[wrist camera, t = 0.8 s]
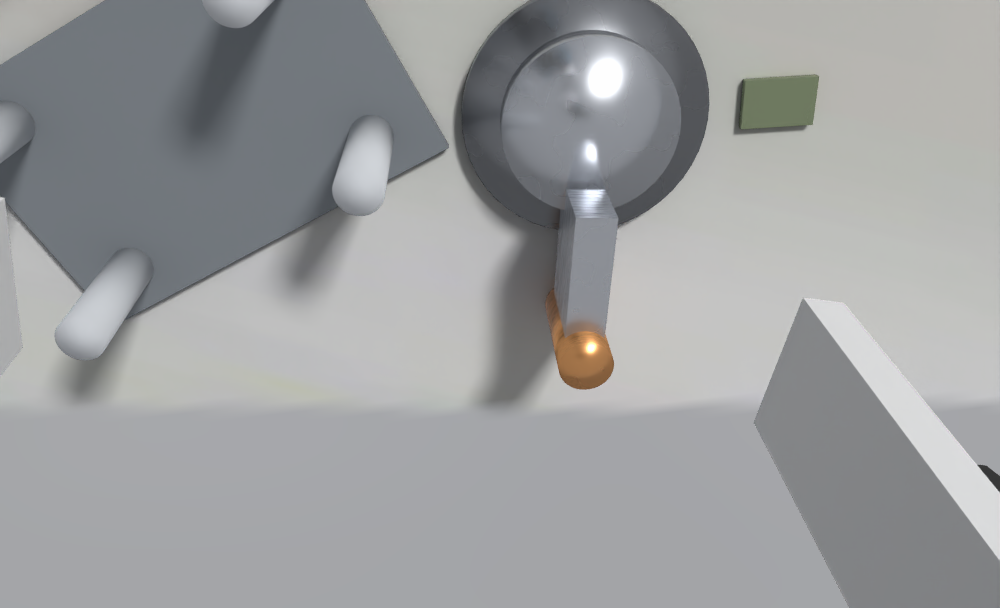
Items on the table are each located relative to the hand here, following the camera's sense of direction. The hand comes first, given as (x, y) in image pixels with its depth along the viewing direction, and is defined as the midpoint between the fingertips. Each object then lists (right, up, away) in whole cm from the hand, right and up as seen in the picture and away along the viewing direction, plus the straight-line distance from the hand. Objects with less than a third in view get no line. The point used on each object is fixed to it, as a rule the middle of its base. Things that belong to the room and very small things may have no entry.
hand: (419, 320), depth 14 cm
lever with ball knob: (+5, +5, +21) cm, 23 cm away
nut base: (+7, +9, +20) cm, 23 cm away
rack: (-11, +7, +20) cm, 24 cm away
